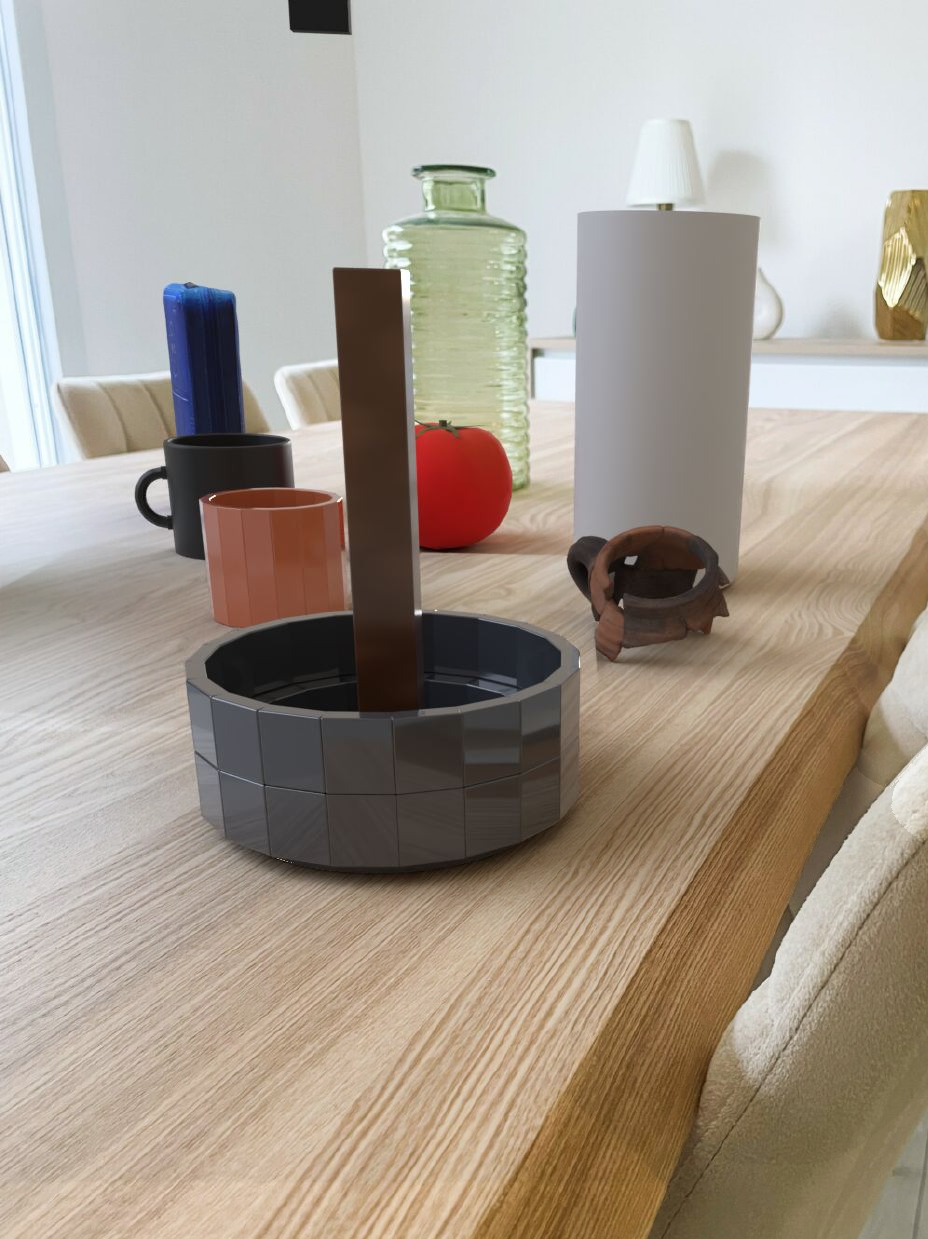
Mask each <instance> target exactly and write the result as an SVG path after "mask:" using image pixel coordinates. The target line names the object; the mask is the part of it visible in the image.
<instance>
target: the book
mask: <svg viewBox="0 0 928 1239" xmlns="http://www.w3.org/2000/svg"><path fill="white" fill-rule="evenodd" d="M162 302H163V304H162V305H163V311H164V321H165V322H164V323H165V332H166V342H167V344H166V345H167V350H168V359H169V361H168V362H169V373H170V383H171V394H172V401H173V409H174V412H173V413H174V423H175V430H176V432H175V433H176V437H177V436H184V435H194V434H212V433H246V432H247V431H246V421H245V420H246V419H245V404H244V403H245V402H244V389H243V388H244V387H243V377H242V365H241V364H242V363H241V354H240V353H241V350H240V330H239V320H238V314H237V297H236V294H235V293H234V292H233V291H232V290H227V289H219V288H216V287H215V288H214V287H213V288H212V287H207V286H206V285H205V286H204V285H199V284H195V283H193V282H191V281H187V282H185V283H177V282H174V283H169V284H167V285H166V286H165V287H164V289H163V293H162Z"/></svg>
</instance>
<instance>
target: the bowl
mask: <svg viewBox="0 0 928 1239" xmlns="http://www.w3.org/2000/svg"><path fill="white" fill-rule="evenodd" d="M422 635H423V662H424V690H425V709H423V710H411V711H400V712H359V709H358V692H357V675H356V659H355V642H354V625H353V610H349V611H336V612H324V613H317V614H310V615H303V616H296V617H289V618H282V619H278V620H274V621H270V622H266V623H262V624H258V625H254V626H250V627H246V628H242V629H240V628H237V629H236V630H232V631H230V632H227V633H226V634H223V635H220V636H218V637H216V638H214V639H212V640H210V641H207V642H205V643H203V644H201V645H200V646H199V647H198V648H196V650H195V651H194V652H193V653H192V654H191V655H190V656H188V658H187V659H186V660H184V661H183V670H184V672H183V673H184V679H185V688H186V698H187V705H188V713H189V722H190V731H191V740H192V748H193V757H194V764H195V772H196V774H195V775H196V782H197V790H198V799H199V806H200V815H201V817H202V819H203V820H205V821H206V823H208V825H209V826H211V827H212V828H213V829H215V831H217V832H218V834H220V836H222V837H223V838H224V839H225V840H226V839H227V841H230V842H232V843H235V844H237V845H239V846H243V847H245V848H247V849H250V850H253V851H256V852H258V853H260V852H261V853H260V854H262V853H263V854H262V855H265V854H266V855H265V856H267V855H268V856H267V857H269V856H271V857H270V858H272V857H274V858H273V859H275V858H279V859H282V860H285V862H284V863H286V861H288V862H289V863H288V864H290V863H291V862H292V863H293V864H292V865H294V864H296V865H295V866H298V865H300V866H299V867H302V866H304V867H303V868H307V867H309V869H313V868H315V869H314V870H319V869H324V870H323V871H325V870H331V871H330V872H335V871H339V872H338V873H345V872H347V874H349V873H348V872H351V873H350V874H353V873H352V872H356V873H355V874H368V873H371V874H372V875H373V874H375V875H376V874H398V873H397V872H403V873H414V872H423V870H424V871H430V870H439V869H444V868H449V867H454V866H459V865H460V866H461V865H464V864H467V863H471V862H475V861H479V860H483V859H486V858H488V857H491V856H494V855H497V854H500V853H502V852H505V851H507V850H509V849H512V848H514V847H516V846H518V845H520V844H521V843H523V842H525V841H526V840H528V839H529V838H532V837H533V836H535V835H537V834H539V833H541V832H542V831H545V830H547V829H548V828H550V827H551V826H554V825H556V824H558V823H559V822H560V821H561V820H562V819H563V817H565V815H567V813H568V812H569V810H571V808H572V807H573V806H574V804H575V803H576V802H577V801H578V799H579V791H580V790H579V789H580V788H579V787H580V786H579V785H580V731H581V730H580V727H581V726H580V725H581V723H580V722H581V721H580V720H581V671H582V670H581V652H580V650H579V649H578V648H577V647H576V646H575V645H573V644H572V643H571V642H570V641H569V640H567V638H565V637H564V636H563V635H561V634H558V633H556V632H553V631H551V630H549V629H545V628H543V627H540V626H538V625H535V624H532V623H530V622H526V621H520V620H515V619H511V618H506V617H501V616H496V615H492V614H487V613H479V612H478V613H477V612H467V611H458V610H449V609H432V608H429V609H425V608H424V609H423V608H422ZM316 868H318V869H316Z"/></svg>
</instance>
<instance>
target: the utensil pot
mask: <svg viewBox="0 0 928 1239" xmlns="http://www.w3.org/2000/svg"><path fill="white" fill-rule="evenodd" d="M343 503H344V502H343V497H342V496H341V495H339V494H338V493H336V492H332V491H326V490H323V489H313V488H301V487H295V488H250V489H239V490H229V491H222V492H217V493H212V494H208V495H206V496H204V497H202V498H200V499H199V504H200V513H201V522H202V532H203V541H204V550H205V560H204V561H205V569H206V579H207V588H208V597H209V605H210V614H211V616H212V619H213V620H214V621H215V622H216V623H218V624H220V625H223V626H226V627H229V628H234V629H242V628H246V627H250V626H254V625H258V624H262V623H266V622H270V621H274V620H278V619H282V618H289V617H296V616H303V615H310V614H317V613H324V612H336V611H350V604H349V603H350V602H349V587H348V584H349V583H348V568H347V554H346V552H347V551H346V538H345V537H346V536H345V520H344V504H343Z"/></svg>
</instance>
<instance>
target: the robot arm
mask: <svg viewBox="0 0 928 1239" xmlns="http://www.w3.org/2000/svg"><path fill="white" fill-rule="evenodd" d="M287 5H288V22H289V31H291V32H292V33H294V34H315V35H317V34H319V35H341V36H343V35H344V36H352V35H353V29H352V28H353V27H352V5H351V0H287Z"/></svg>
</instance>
